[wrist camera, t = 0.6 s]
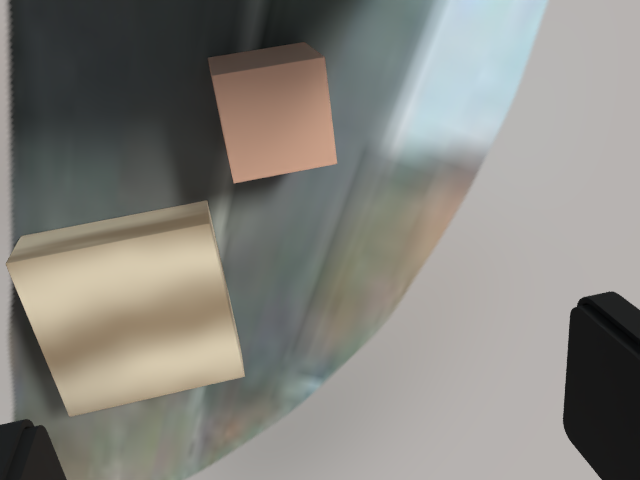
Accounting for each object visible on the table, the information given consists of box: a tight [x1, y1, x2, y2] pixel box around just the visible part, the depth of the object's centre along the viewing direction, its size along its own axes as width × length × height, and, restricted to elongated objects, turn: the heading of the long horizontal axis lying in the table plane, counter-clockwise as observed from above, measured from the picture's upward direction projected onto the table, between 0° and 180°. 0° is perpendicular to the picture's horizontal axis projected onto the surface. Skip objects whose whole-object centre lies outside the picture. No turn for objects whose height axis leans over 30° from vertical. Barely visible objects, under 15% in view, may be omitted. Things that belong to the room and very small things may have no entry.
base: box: [6, 200, 245, 417], centre depth 37 cm, size 11×11×4 cm
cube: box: [208, 42, 337, 183], centre depth 33 cm, size 6×6×6 cm
